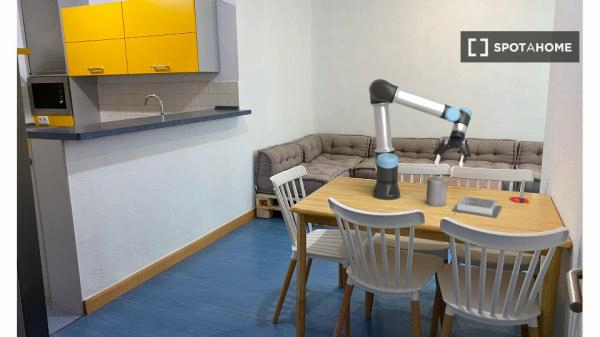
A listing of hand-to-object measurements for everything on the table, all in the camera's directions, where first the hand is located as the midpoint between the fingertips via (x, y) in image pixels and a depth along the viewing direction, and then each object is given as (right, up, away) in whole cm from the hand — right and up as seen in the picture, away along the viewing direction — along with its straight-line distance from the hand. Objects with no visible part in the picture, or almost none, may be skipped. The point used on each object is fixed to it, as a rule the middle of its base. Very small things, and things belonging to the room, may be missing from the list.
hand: (447, 166), depth 218 cm
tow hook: (+38, -18, -1) cm, 42 cm away
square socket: (+9, -22, -14) cm, 28 cm away
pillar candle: (-8, -20, -5) cm, 22 cm away
